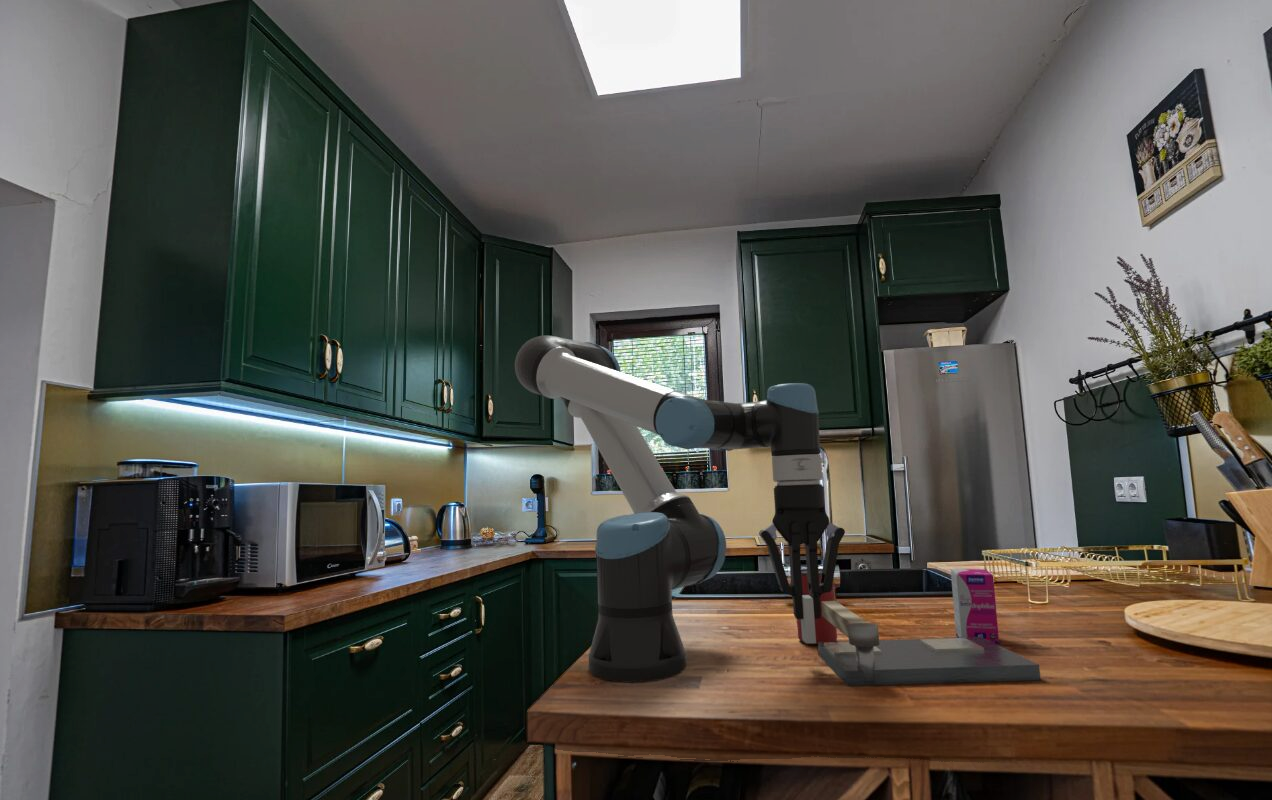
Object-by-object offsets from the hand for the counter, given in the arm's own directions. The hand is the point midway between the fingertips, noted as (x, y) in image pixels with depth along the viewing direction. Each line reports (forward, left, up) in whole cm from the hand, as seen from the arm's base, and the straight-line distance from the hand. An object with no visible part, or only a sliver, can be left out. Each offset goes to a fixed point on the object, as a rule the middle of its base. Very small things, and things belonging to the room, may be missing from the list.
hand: (809, 640), depth 100 cm
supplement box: (+31, +13, -4) cm, 34 cm away
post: (+6, -8, -4) cm, 11 cm away
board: (+16, -1, -4) cm, 16 cm away
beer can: (+5, +16, -4) cm, 17 cm away
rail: (+6, 0, +1) cm, 6 cm away
